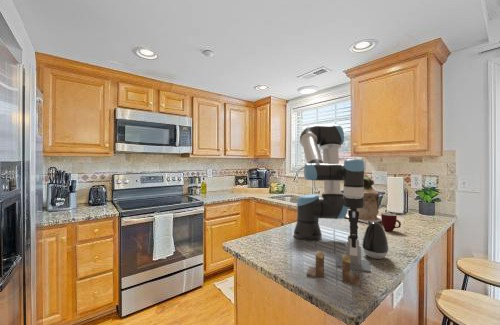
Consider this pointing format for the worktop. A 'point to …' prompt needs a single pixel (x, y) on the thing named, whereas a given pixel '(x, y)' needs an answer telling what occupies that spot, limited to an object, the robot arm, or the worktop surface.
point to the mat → (362, 267)
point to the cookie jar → (369, 204)
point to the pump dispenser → (375, 241)
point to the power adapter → (353, 259)
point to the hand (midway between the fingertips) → (353, 249)
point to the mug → (389, 221)
